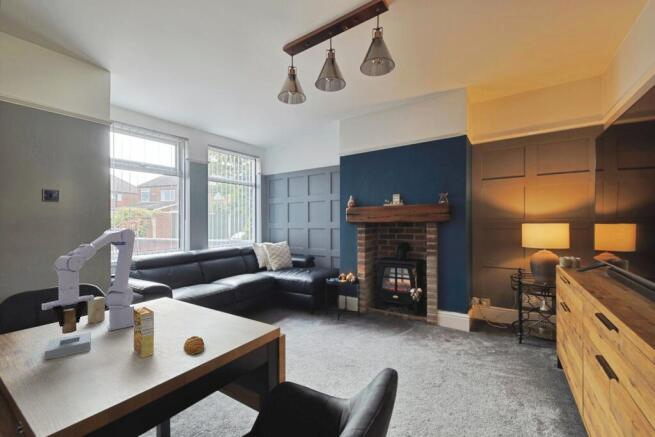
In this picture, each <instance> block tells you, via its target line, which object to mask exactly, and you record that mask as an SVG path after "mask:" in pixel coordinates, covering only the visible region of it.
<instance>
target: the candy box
mask: <svg viewBox="0 0 655 437" xmlns="http://www.w3.org/2000/svg"><path fill="white" fill-rule="evenodd" d="M154 318H155V312H154V311H153V310H151V309H149V308H147V307H145V306H143V307H138V308H134V326H133V352H134V353H135V354H136V355H137V356H139V357H140V358H141V359H144V358H146V357H150V356H152V355H154V354H155V351H154V350H155V349H154V348H155V347H154V346H155V343H154V340H155V336H154V334H155V324H154V323H155V319H154Z"/></svg>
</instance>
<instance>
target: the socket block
mask: <svg viewBox="0 0 655 437" xmlns="http://www.w3.org/2000/svg"><path fill="white" fill-rule="evenodd" d="M91 336H92V335H91V332H84V333H80V334H79V333H78V334H74V335H70V336H65V337H59V338H54V339H50V340H49V341H48V344H47V346H46V349H45V352H44V355H45V361H47V360H52V359H55V358H60V357H61V358H62V357H64V356H65V357H66V356H69V355H75V354H79V353H83V352H87V351H91V345H92V344H91V343H92V342H91V341H92V339H91V338H92V337H91Z"/></svg>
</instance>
